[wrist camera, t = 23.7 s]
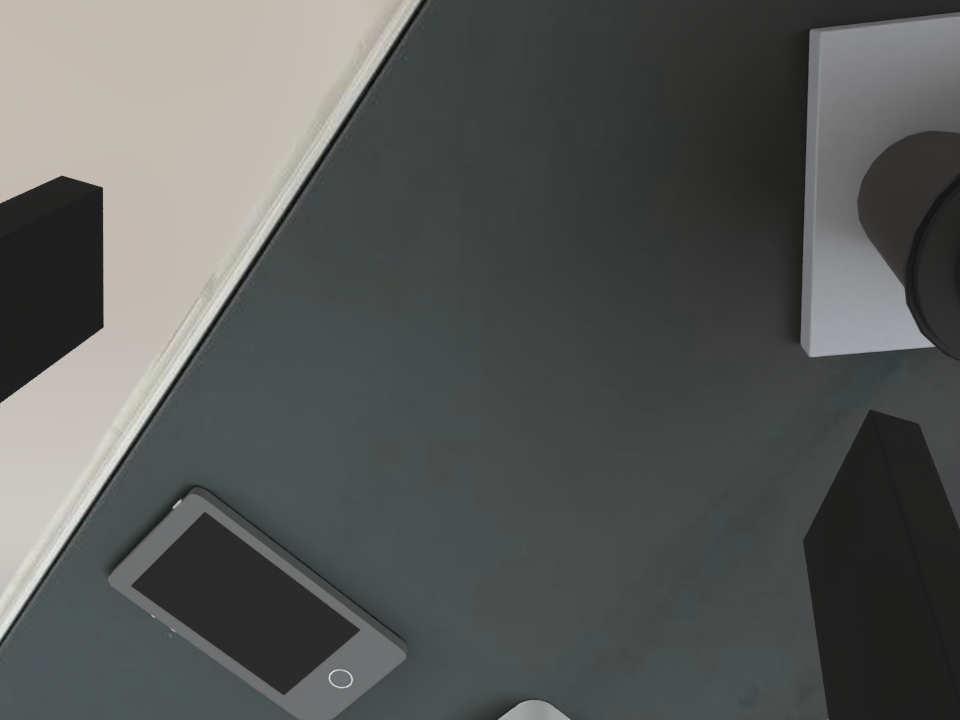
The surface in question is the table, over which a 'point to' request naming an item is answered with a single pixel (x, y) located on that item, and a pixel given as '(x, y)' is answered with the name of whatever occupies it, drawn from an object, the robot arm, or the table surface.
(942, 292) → the coffee cup
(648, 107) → the table surface
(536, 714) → the u-slot mount
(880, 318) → the coffee maker
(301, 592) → the smartphone
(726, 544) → the table surface
